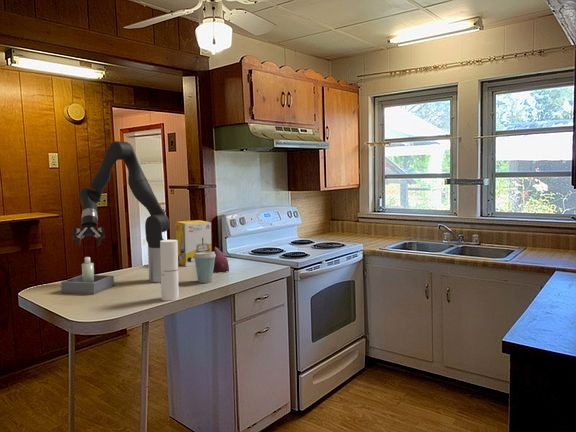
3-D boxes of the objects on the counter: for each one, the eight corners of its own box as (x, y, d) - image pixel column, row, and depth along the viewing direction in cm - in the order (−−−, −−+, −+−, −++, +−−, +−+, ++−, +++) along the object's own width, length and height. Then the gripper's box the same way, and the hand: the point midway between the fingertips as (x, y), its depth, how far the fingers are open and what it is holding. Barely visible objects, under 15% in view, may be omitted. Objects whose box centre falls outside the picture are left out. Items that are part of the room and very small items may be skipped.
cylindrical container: (174, 301, 189) (172, 242, 187) (158, 300, 190) (157, 241, 188) (181, 296, 196) (180, 239, 194) (166, 295, 197) (165, 239, 195)
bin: (113, 285, 215) (113, 275, 214) (94, 294, 199) (93, 283, 199) (83, 284, 218) (83, 274, 217) (61, 292, 202) (61, 281, 201)
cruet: (96, 285, 210) (95, 256, 209) (90, 288, 206) (89, 258, 204) (86, 285, 211) (85, 256, 210) (80, 288, 206) (79, 258, 205)
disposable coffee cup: (190, 283, 220) (189, 253, 219) (201, 278, 231) (201, 249, 229) (209, 284, 217) (208, 254, 215) (219, 280, 227) (219, 250, 226)
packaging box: (185, 266, 261) (184, 223, 259) (176, 262, 274) (175, 221, 272) (211, 263, 270) (211, 222, 267) (201, 259, 283) (200, 220, 281)
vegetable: (208, 277, 247) (200, 251, 245) (218, 271, 256) (210, 246, 255) (224, 274, 243) (216, 248, 241) (233, 268, 252) (225, 243, 250)
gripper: (73, 215, 222) (71, 241, 212) (104, 214, 227) (104, 239, 217) (74, 224, 227) (73, 250, 218) (105, 223, 232) (105, 248, 223)
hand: (88, 245), depth 217 cm, fingers open, 8 cm apart
